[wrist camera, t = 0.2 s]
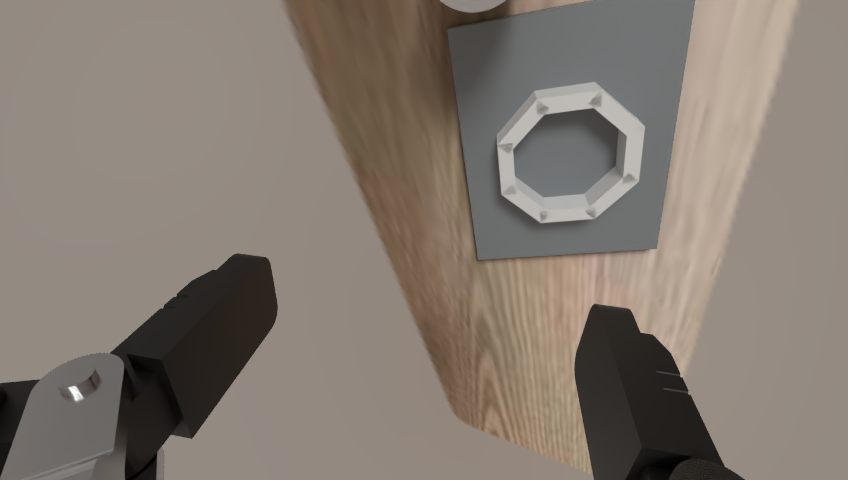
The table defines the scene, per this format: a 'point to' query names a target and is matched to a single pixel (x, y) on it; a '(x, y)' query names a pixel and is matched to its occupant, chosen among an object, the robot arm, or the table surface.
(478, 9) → the supplement bottle
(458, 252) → the table surface
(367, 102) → the table surface
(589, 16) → the collar plate
